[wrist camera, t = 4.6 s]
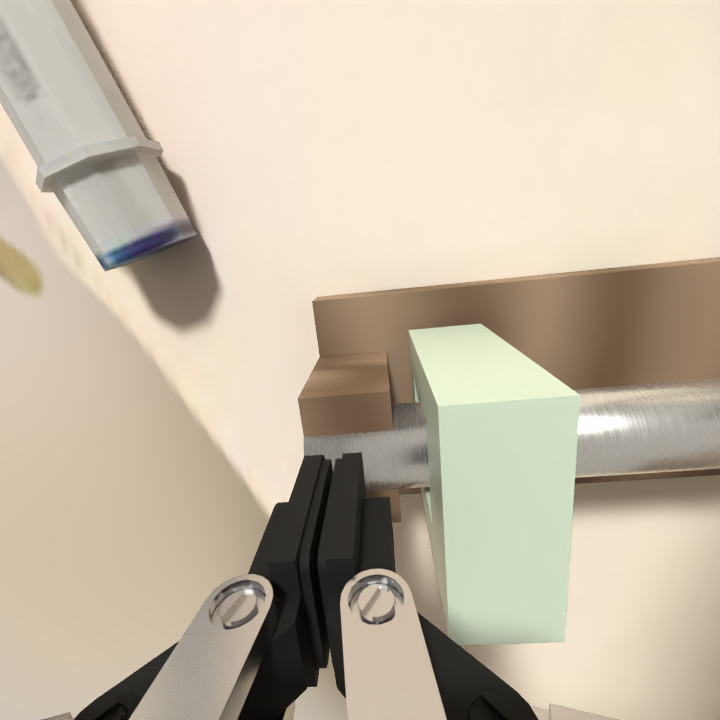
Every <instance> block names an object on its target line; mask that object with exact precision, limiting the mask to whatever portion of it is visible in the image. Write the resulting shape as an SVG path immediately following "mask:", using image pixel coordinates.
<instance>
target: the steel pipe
mask: <svg viewBox="0 0 720 720" xmlns="http://www.w3.org/2000/svg"><path fill="white" fill-rule="evenodd" d="M574 391H575V392H577V393H578V394H579V395H580V408H579V423H578V439H577V455H576V470H575V478H577V477H593V476H609V475H625V474H641V473H657V472H673V471H689V470H705V469H720V378H717V379H704V380H692V381H679V382H666V383H653V384H641V385H628V386H615V387H602V388H589V389H577V390H574ZM391 409H392V421H393V430H392V431H378V432H364V433H351V434H337V435H324V436H310V437H304V457H305V456H309V455H324V457H325V459H331V461H332V467H333V471H334V466H335V461H336V459H340V458H342V455H343V453H357V452H361V453H362V459H363V468H364V478H365V487H366V490H381V489H397V488H398V489H403V488H419V487H430V480H429V463H428V446H427V429H426V417H425V413H424V410H423V407H422V403H421V402H411V403H398V404H391Z"/></svg>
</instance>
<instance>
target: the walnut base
mask: <svg viewBox="0 0 720 720" xmlns="http://www.w3.org/2000/svg"><path fill="white" fill-rule="evenodd" d="M312 303H313V310H314V317H315V325H316V332H317V339H318V347H319V354H320V357H319V359H318V361H317V363H316V365H315V367H314V369H313V371H312V373H311V375H310V377H309V379H308V380H307V382H306V384H305V386H304V388H303V390H302V392H301V394H300V396H299V398H298V402H299V408H300V415H301V421H302V427H303V433H304V437H310V436H324V435H337V434H351V433H364V432H378V431H392V430H393V421H392V409H391V404H398V403H411V402H413V392H412V377H411V362H410V348H409V333H408V330H416V329H427V328H438V327H449V326H459V325H470V324H482V325H484V326H485V327H486V328H488V329H489V330H490V331H492V332H493V333H495V334H496V335H497V336H499V337H500V338H502V339H503V340H504V341H506V342H507V343H509V344H510V345H511V346H513V347H514V348H515V349H517V350H518V351H520V352H521V353H522V354H524V355H525V356H527V357H528V358H529V359H531V360H532V361H533V362H535V363H536V364H538V365H539V366H540V367H542V368H543V369H545V370H546V371H547V372H549V373H550V374H552V375H553V376H554V377H556V378H557V379H558V380H560V381H561V382H563V383H564V384H565V385H567V386H568V387H570V388H571V389H572V390H577V389H589V388H602V387H615V386H628V385H641V384H653V383H666V382H679V381H692V380H704V379H717V378H720V257H719V258H709V259H699V260H689V261H679V262H669V263H659V264H649V265H638V266H628V267H618V268H608V269H598V270H588V271H578V272H568V273H557V274H547V275H537V276H527V277H517V278H507V279H497V280H487V281H477V282H466V283H456V284H446V285H436V286H426V287H416V288H406V289H396V290H385V291H375V292H365V293H355V294H345V295H335V296H325V297H317V298H316V299H315V300H314V301H312ZM707 475H720V469H705V470H689V471H673V472H657V473H641V474H625V475H609V476H593V477H577V478H575V484H578V483H594V482H610V481H627V480H643V479H659V478H675V477H691V476H707ZM417 493H421V488H420V487H419V488H403V489H398V488H397V489H381V490H366V497H367V498H373V497H390V504H391V515H392V522H401V514H400V503H399V495H400V494H417Z"/></svg>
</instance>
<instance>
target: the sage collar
mask: <svg viewBox="0 0 720 720" xmlns="http://www.w3.org/2000/svg"><path fill="white" fill-rule="evenodd" d="M408 333H409V348H410V362H411V377H412V392H413V402H421V403H422V407H423V410H424V413H425V417H426V429H427V446H428V463H429V480H430V487H420V488H421V493H422V499H423V504H424V510H425V515H426V520H427V526H428V531H429V537H430V542H431V547H432V553H433V558H434V564H435V569H436V575H437V580H438V585H439V591H440V596H441V602H442V607H443V613H444V618H445V623H446V629H447V634H448V637H449V638H450V639H452V640H453V641H454V642H455V643H457V644H458V645H459V646H462V645H491V644H520V643H549V642H565V627H566V611H567V596H568V580H569V564H570V549H571V533H572V517H573V502H574V486H575V470H576V455H577V439H578V423H579V408H580V395H579V394H578V393H577V392H575V391H574V390H572V389H571V388H570V387H568V386H567V385H565V384H564V383H563V382H561V381H560V380H558V379H557V378H556V377H554V376H553V375H552V374H550V373H549V372H547V371H546V370H545V369H543V368H542V367H540V366H539V365H538V364H536V363H535V362H533V361H532V360H531V359H529V358H528V357H527V356H525V355H524V354H522V353H521V352H520V351H518V350H517V349H515V348H514V347H513V346H511V345H510V344H509V343H507V342H506V341H504V340H503V339H502V338H500V337H499V336H497V335H496V334H495V333H493V332H492V331H490V330H489V329H488V328H486V327H485V326H484V325H482V324H470V325H459V326H449V327H438V328H427V329H416V330H408Z"/></svg>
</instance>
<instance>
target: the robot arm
mask: <svg viewBox="0 0 720 720" xmlns="http://www.w3.org/2000/svg"><path fill="white" fill-rule="evenodd" d="M329 650H331V657H332V663H333V667H334V672H335V678H336V684H337V688H338V690H339V691H340V692H341V693H342V695H343V696H344V697H345V698H346V704H347V718H348V720H618V719H614V718H610V717H606V716H601V715H597V714H593V713H589V712H584V711H580V710H576V709H572V708H567V707H563V706H559V705H555V704H550V703H549V710H546V709H542V708H537V707H533V706H530V705H529V704H528V703H527V702H526V701H525V700H524V699H523V698H522V697H521V696H520V694H519V693H518V692H517V691H515V690H514V689H513V688H512V687H510V686H509V685H508V684H507V683H505V682H504V681H503V680H502V679H500V678H499V677H498V676H497V675H495V674H494V673H493V672H492V671H490V670H489V669H488V668H487V667H485V666H484V665H483V664H482V663H480V662H479V661H478V660H477V659H475V658H474V657H473V656H472V655H470V654H469V653H468V652H467V651H465V650H464V649H463V648H462V647H460V646H459V645H458V644H457V643H455V642H454V641H453V640H452V639H450V638H449V637H448V636H447V635H445V634H444V633H443V632H442V631H440V630H439V629H438V628H437V627H435V626H434V625H433V624H432V623H430V622H429V621H428V620H427V619H425V618H424V617H423V616H422V615H420V614H419V613H418V612H417V610H416V607H415V603H414V600H413V596H412V592H411V590H410V588H409V586H408V584H407V582H406V581H405V580H404V579H403V578H402V577H401V576H400V575H398V574H396V573H395V557H394V541H393V528H392V515H391V504H390V497H373V498H367V497H366V487H365V478H364V468H363V459H362V453H361V452H357V453H343V455H342V458H340V459H336V461H335V466H334V471H333V467H332V461H331V459H325V457H324V455H309V456H305V457H304V459H303V462H302V465H301V468H300V470H299V473H298V476H297V479H296V482H295V485H294V488H293V491H292V494H291V497H290V499H289V502H282V503H277V504H276V505H275V507H274V509H273V512H272V514H271V517H270V519H269V522H268V524H267V527H266V529H265V532H264V535H263V537H262V540H261V542H260V545H259V547H258V550H257V552H256V555H255V557H254V560H253V562H252V565H251V568H250V570H249V573H248V574H244V575H240V576H237V577H233V578H231V579H229V580H228V581H226V582H224V583H222V584H221V585H220V586H218V587H217V588H216V589H215V590H214V591H213V592H212V593H211V594H210V595H209V597H208V598H207V599H206V601H205V602H204V604H203V605H202V607H201V608H200V610H199V612H198V613H197V615H196V616H195V618H194V619H193V621H192V622H191V624H190V625H189V627H188V628H187V630H186V632H185V633H184V635H183V636H182V638H181V639H180V641H179V642H177V643H176V644H174V645H173V646H171V647H170V648H169V649H167V650H166V651H164V652H163V653H162V654H160V655H159V656H157V657H156V658H154V659H153V660H152V661H150V662H149V663H147V664H146V665H144V666H143V667H141V668H140V669H139V670H137V671H136V672H134V673H133V674H132V675H130V676H129V677H127V678H126V679H124V680H123V681H121V682H120V683H119V684H117V685H116V686H115V687H113V688H111V689H110V690H109V691H107V692H106V693H104V694H103V695H102V696H100V697H99V698H97V699H96V700H94V701H93V702H92V703H91V704H90V705H88V706H87V707H86V708H85V709H83V710H82V711H81V712H80V713H79V714H78V716H76V718H72V715H71V713H70V712H68V713H65V714H61V715H57V716H54V717H50V718H46V719H42V720H293V718H294V712H295V700H296V699H297V698H298V697H299V696H300V695H301V694H302V693H303V692H304V691H305V690H306V689H307V687H317V682H318V675H319V668H327V665H328V659H329Z"/></svg>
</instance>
